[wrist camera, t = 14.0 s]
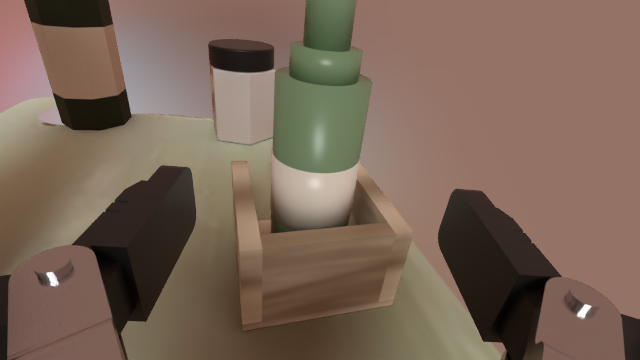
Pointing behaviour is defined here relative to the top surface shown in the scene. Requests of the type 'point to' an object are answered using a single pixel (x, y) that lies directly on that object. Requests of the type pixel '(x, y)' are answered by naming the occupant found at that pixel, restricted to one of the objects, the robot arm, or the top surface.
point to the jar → (242, 90)
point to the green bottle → (318, 122)
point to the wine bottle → (81, 61)
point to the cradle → (317, 259)
